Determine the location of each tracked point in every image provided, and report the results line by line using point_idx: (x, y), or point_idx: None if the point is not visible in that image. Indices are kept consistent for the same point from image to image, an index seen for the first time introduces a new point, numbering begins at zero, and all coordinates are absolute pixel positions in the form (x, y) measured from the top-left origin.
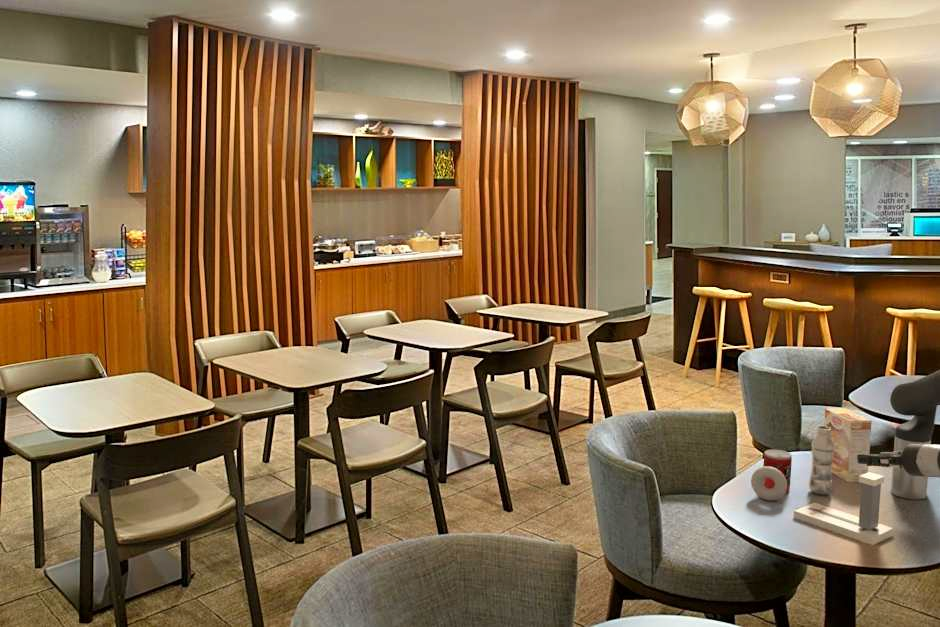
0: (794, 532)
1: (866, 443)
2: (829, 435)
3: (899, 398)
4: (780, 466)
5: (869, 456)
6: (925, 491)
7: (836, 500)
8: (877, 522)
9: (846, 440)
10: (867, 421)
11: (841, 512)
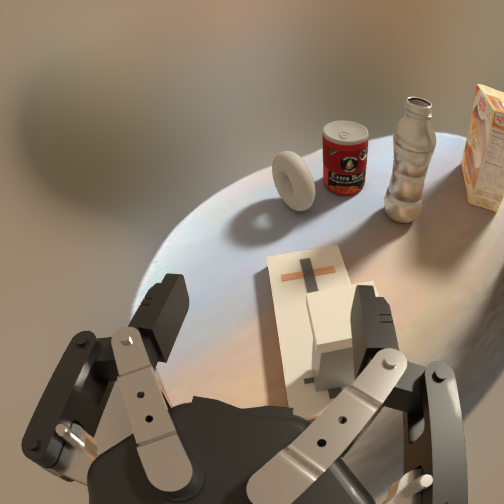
0: (208, 309)
1: None
2: (425, 120)
3: None
4: (334, 154)
5: (65, 356)
6: None
7: (407, 242)
8: (351, 381)
9: (484, 140)
10: None
11: None
